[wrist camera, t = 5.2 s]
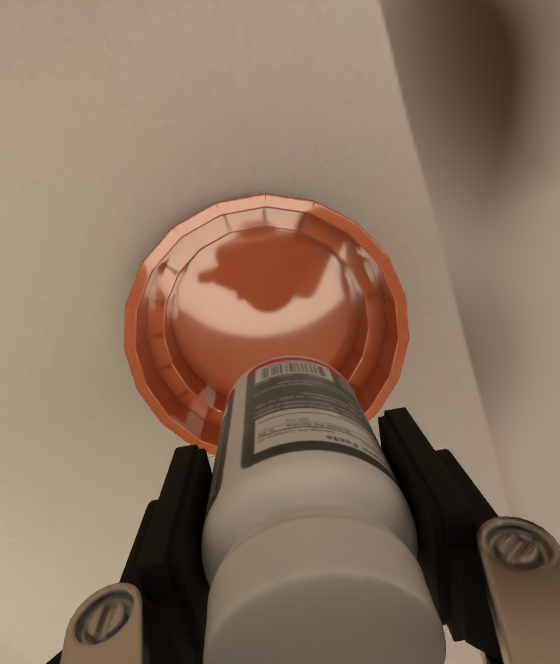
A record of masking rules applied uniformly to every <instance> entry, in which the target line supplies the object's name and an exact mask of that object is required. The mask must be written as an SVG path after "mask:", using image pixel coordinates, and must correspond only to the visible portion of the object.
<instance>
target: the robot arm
mask: <svg viewBox="0 0 560 664" xmlns="http://www.w3.org/2000/svg"><path fill="white" fill-rule="evenodd" d="M378 423H379V431H380V440H381V449H382V451H383V453H384V455H385V457H386V459H387V461H388V463H389V465H390V467H391V469H392V471H393V473H394V475H395V477H396V479H397V481H398V483H399V485H400V487H401V489H402V491H403V493H404V495H405V498H406V500H407V503H408V504H409V507H410V510H411V512H412V515H413V518H414V521H415V525H416V531H417V538H418V552H417V559H416V560H417V562H418V563H419V565H420V567H421V570H422V572H423V575H424V578H425V582H426V585H427V587H428V590H429V593H430V595H431V598H432V600H433V603H434V605H435V608H436V610H437V613H438V615H439V618H440V620H441V623H442V625H446V624H447V626H448V628H449V631H450V633H451V635H452V638H453V640H454V642H456V641H462V640H465V641H466V642H467V643H469V644H470V645H472V646H474V647H475V648H477V649H479V650H481V656H482V661H483V664H560V546H559V544H558V543H557V541H556V540H555V539H554V537H553V536H552V535H551V534H549V533H548V532H547V531H545V529H543V528H542V527H540V526H538V525H536V524H535V523H533V522H530V521H527V520H524V519H521V518H516V517H508V516H506V517H498V515H497V514H496V513H495V511H494V510H493V508H492V507H491V506H490V504H489V503H488V502H487V500H486V499H485V498H484V496H483V495H482V494H481V492H480V491H479V490H478V488H477V487H476V486H475V484H474V483H473V482H472V480H471V479H470V478H469V476H468V475H467V473H466V472H465V471H464V469H463V468H462V467H461V465H460V464H459V463H458V461H457V460H456V459H455V457H454V456H453V455H452V453H451V452H450V451H449V450H447V449H442V450H437V451H435V450H434V449H433V447H432V446H431V444H430V443H429V441H428V440H427V438H426V437H425V435H424V434H423V433H422V431H421V430H420V428H419V427H418V425H417V424H416V422H415V421H414V419H413V418H412V417H411V415H410V414H409V412H408V411H407V409H406V408H405V407H403V408H397V409H392V410H386V411H385V412H384V416H382V417H379V418H378ZM211 480H212V471H211V467H210V464H209V460H208V456H207V453H206V450H205V449H204V448H202V449H199V447H198V445H196V444H195V445H189V446H183V447H178V448H176V450H175V452H174V455H173V458H172V461H171V464H170V467H169V470H168V473H167V476H166V479H165V482H164V484H163V487H162V490H161V493H160V496H159V499H158V500H152V501H151V502H149V504H148V506H147V509H146V511H145V514H144V517H143V519H142V522H141V525H140V528H139V530H138V533H137V536H136V538H135V541H134V544H133V547H132V549H131V552H130V555H129V557H128V560H127V563H126V566H125V568H124V571H123V574H122V576H121V579H120V582H119V583H116V584H112V585H108V586H106V587H104V588H102V589H100V590H98V591H96V592H95V593H94V594H92V595H91V596H90V597H88V598H87V599H86V600H85V601H84V602H83V603H82V604H81V605H80V606H79V607H78V608H77V610H76V611H75V613H74V615H73V616H72V618H71V619H70V622H69V625H68V627H67V630H66V635H65V640H64V645H63V650H62V651H61V652H59V653H58V654H57V655H56V656H55V657H53V658H52V659H51V660H50V661H49V662H47V663H46V664H203V655H204V643H205V632H206V621H207V604H208V596H209V591H210V586H209V584H208V582H207V579H206V576H205V572H204V568H203V563H202V551H201V545H202V532H203V525H204V518H205V514H206V508H207V503H208V497H209V491H210V486H211Z"/></svg>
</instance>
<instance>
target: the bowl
mask: <svg viewBox="0 0 560 664" xmlns="http://www.w3.org/2000/svg"><path fill="white" fill-rule="evenodd" d="M125 305H126V306H125V329H124V349H125V350H124V351H125V354H126V357H127V360H128V363H129V366H130V370H131V373H132V376H133V379H134V382H135V385H136V388H137V389H138V392H139V393H140V395H141V396H142V397H143V399H144V400H145V401H146V403H147V404H148V406H149V407H150V408H151V410H152V411H153V412H154V414H155V415H156V416H157V418H158V419H159V421H160V422H161V423H162V424H163V425H164V426H166V427H167V428H168V429H170V430H171V431H173V432H174V433H175V434H177V435H178V436H179V437H181V438H182V439H183V440H185V441H186V442H187V443H189V444H190V445H195V444H196V445H198V447H199V449H202V448H204V449H205V450H206V452H208V453H210V454H213V455H216V452H217V446H218V440H219V435H220V429H221V423H222V417H223V412H224V407H225V403H226V400H227V397H228V395H229V393H230V391H231V389H232V388H233V386H234V385H235V383H236V382H237V381H238V380H239V378H240V377H241V376H242V375H244V374H245V373H246V372H247V371H248V370H250V369H251V368H253V367H254V366H256V365H258V364H259V363H261V362H264V361H266V360H269V359H271V358H275V357H280V356H288V355H296V356H305V357H310V358H314V359H317V360H319V361H322V362H324V363H326V364H328V365H329V366H331V367H332V368H334V369H335V370H336V371H338V372H339V373H340V374H341V375H342V376H343V377H344V378H345V380H346V381H347V382H348V384H349V385H350V387H351V388H352V390H353V392H354V393H355V395H356V397H357V400H358V402H359V404H360V406H361V408H362V410H363V412H364V414H365V416H366V418H367V420H368V421H370V420H371V419H372V418H373V417H374V416H375V415H376V414H377V413H378V412H379V411H380V409H381V407H382V406H383V404H384V402H385V401H386V399H387V398H388V396H389V394H390V393H391V391H392V390H393V388H394V386H395V385H396V383H397V381H398V380H399V377H400V373H401V369H402V365H403V361H404V357H405V353H406V349H407V345H408V341H409V330H408V317H407V304H406V296H405V293H404V291H403V289H402V286H401V284H400V282H399V280H398V277H397V275H396V273H395V270H394V268H393V266H392V264H391V261H390V259H389V257H388V256H387V255H386V253H385V252H384V251H383V250H382V249H381V248H380V247H379V246H378V245H377V244H376V243H375V242H374V241H373V240H372V238H371V237H370V236H369V235H368V234H367V233H366V232H365V231H364V230H363V229H362V228H361V227H360V226H359V225H358V224H357V223H356V222H354V221H352V220H350V219H348V218H346V217H345V216H343V215H341V214H339V213H337V212H335V211H333V210H331V209H329V208H327V207H325V206H323V205H322V204H320V203H318V202H316V201H313V200H306V199H300V198H293V197H286V196H279V195H273V194H258V195H253V196H248V197H242V198H237V199H231V200H226V201H221V202H217V203H214V204H212V205H211V206H209V207H207V208H205V209H204V210H202V211H200V212H198V213H197V214H195V215H193V216H191V217H190V218H188V219H186V220H184V221H182V222H181V223H179V224H177V225H175V226H174V227H173V228H171V230H170V231H169V232H168V233H167V234H166V235H165V237H164V238H163V239H162V240H161V241H160V242H159V243H158V245H157V246H156V247H155V248H154V249H153V250H152V252H151V253H150V254H149V255H148V256H147V257H146V258H145V260H144V261H143V262H142V264H141V266H140V268H139V271H138V273H137V276H136V279H135V281H134V284H133V286H132V289H131V292H130V294H129V297H128V299H127V302H126V304H125Z"/></svg>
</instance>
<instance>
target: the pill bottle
mask: <svg viewBox="0 0 560 664" xmlns="http://www.w3.org/2000/svg"><path fill="white" fill-rule="evenodd" d="M201 551H202V563H203V568H204V572H205V576H206V579H207V582H208V584H209V586H210V591H209V596H208V604H207V621H206V632H205V643H204V655H203V664H444V662H445V654H446V641H445V635H444V630H443V626H442V623H441V620H440V618H439V615H438V613H437V610H436V608H435V605H434V603H433V600H432V598H431V595H430V593H429V590H428V587H427V585H426V582H425V578H424V575H423V572H422V570H421V567H420V565H419V563H418V562H417V560H416V559H417V552H418V538H417V531H416V525H415V521H414V518H413V515H412V512H411V510H410V507H409V504H408V503H407V500H406V498H405V495H404V493H403V491H402V489H401V487H400V485H399V483H398V481H397V479H396V477H395V475H394V473H393V471H392V469H391V467H390V465H389V463H388V461H387V459H386V457H385V455H384V453H383V451H382V449H381V447H380V445H379V443H378V441H377V439H376V437H375V435H374V433H373V431H372V429H371V427H370V425H369V423H368V420H367V418H366V416H365V414H364V412H363V410H362V408H361V406H360V404H359V402H358V400H357V397H356V395H355V393H354V392H353V390H352V388H351V387H350V385H349V384H348V382H347V381H346V380H345V378H344V377H343V376H342V375H341V374H340V373H339V372H338V371H336V370H335V369H334V368H332V367H331V366H329V365H328V364H326V363H324V362H322V361H319V360H317V359H314V358H310V357H305V356H296V355H288V356H280V357H275V358H271V359H269V360H266V361H264V362H261V363H259V364H258V365H256V366H254V367H253V368H251V369H250V370H248V371H247V372H246V373H245V374H244V375H242V376H241V377H240V378H239V380H238V381H237V382H236V383H235V385H234V386H233V388H232V389H231V391H230V393H229V395H228V397H227V400H226V403H225V407H224V412H223V417H222V423H221V429H220V435H219V440H218V446H217V452H216V458H215V463H214V469H213V474H212V480H211V486H210V491H209V497H208V503H207V508H206V514H205V518H204V525H203V532H202V545H201Z"/></svg>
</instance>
